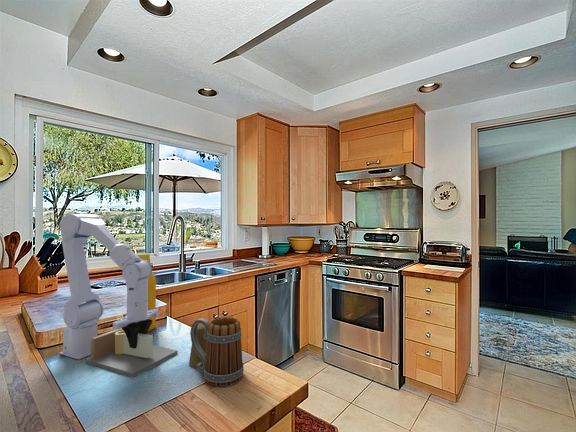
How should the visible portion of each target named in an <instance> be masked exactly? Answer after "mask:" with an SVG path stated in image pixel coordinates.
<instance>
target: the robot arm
mask: <svg viewBox="0 0 576 432" xmlns="http://www.w3.org/2000/svg"><path fill="white" fill-rule="evenodd" d="M59 228H60V234H61V245H62V251H63V256H64V262H65V267H66V273H67V279H68V285H69V291H70V295H71V296H70V297H69V298H68V300H67V301H65V303H64V304H63V309H64V312H63V315H62V316H63V323H65V324H64V325H66V328H65V329H64V331H63V333H62V334H63V337H62V340H63V341H62V342H63V343H62V345H63V346H62V347H63V348H62V351H61V352H59V354H60V355H62V356H65V357H69V358H72V359H76V360H81V359H83V358H86V357H88V356H89V357H90V356H91V338H93V337H96V336H98V322H99V321H100V318H101V317H102V316H103V314H104V305H103V303H102V302H101V299H100V296H99V295H98V294H96V293H95V292H93V291H92V286H91V282H90V277H89V275H90V274H89V269H88V264H87V260H86V258H87V257H86V252H85V248H84V244H85V243H86V242H87V241H88V240H89V239H90V238H91V237H93V238H94V239H95V240H96V241H97V242H98V243H100V244H101V245H102V246H103V247H105V249H106V250H108V252H109V256H108V257H109V258H110V260H112V261H113V262H114V263H115V264H116V265H117V266H118V267H119V269H120V270H121V271H122V272H121V273H122V277H123V279H124V281H125V286H126V315H125V316H124V317H122V318H120V319H118V320H116V321H113V322H112V330H119V329H121V328H122V329H123V331H124V332H125V334H126V336H127V339H128V342H129V346H130V348H134V349H135V348H136V347H137V337H138V333H141V334H147V333H148V332H149V331H148V330H149V328H150V326H151V324H152V320H149V318H151V317H154V316H156V317H158V316H159V312H160V311H159V309H153V310H149V311H148V277H150V275H151V274H152V272H153V267H152V264H151V262H150V263H149V261H147V260H142V259H140V257H139V256H137V255H138V254H136V253H135V252H134V251H133V250H132V249H131V248H132V247H131V246H130V245H129V244H126V243H119V241H118V240H117V239H116V238H115V236H113V234H112V233H111V231H109V229H108V228H107V227H106V226H105V221H104V220H103V219H102V218H101V217H100V216H99V215H98V214H95V213H91V214H86V213H85V214H84V213H83V214H82V213H78V214H77V213H68V214H66V215H65V214H64V217H62V219H61V220H60V222H59Z"/></svg>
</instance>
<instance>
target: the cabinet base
mask: <svg viewBox="0 0 576 432" xmlns="http://www.w3.org/2000/svg"><path fill="white" fill-rule="evenodd" d="M122 330H123V329H122V328H121V329H119V330H115V329H112V330H111V331H108V332H105V333H101V334H98V335H97V336H96V337H93V338H91V355H90V356H89V357H87V358H86V359H85V363H86V364H89V365H92V366H95V367H99V368H101V369H106V370H108V371H112V372H115V373H118V374H121V375H125V376H128V377H130V378H135V377H137V376H139V375H140V374H143V373H144V372H146V371H148V370H150V369H152V368H153V366H154V367H155V366H158V365H159V364H161V363H163V362H164V361H167V360H168V359H171V358H172V357H174V356H176V355H178V350H177V349H172V348H169V347H164V346H160V345H155V344H153V356H151V357H149V358H143V357H138V356H133V355H128V354H119V355H118V354H115V333H116V332H118V331H122ZM151 367H152V368H151Z"/></svg>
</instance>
